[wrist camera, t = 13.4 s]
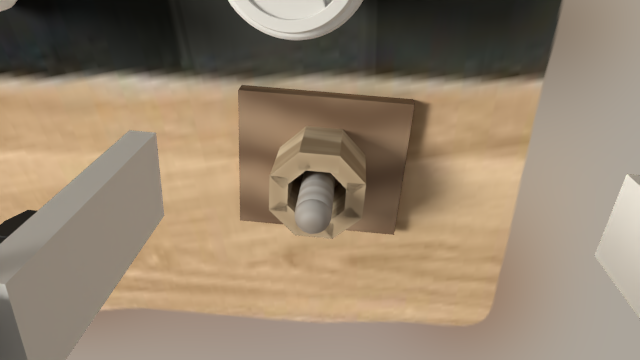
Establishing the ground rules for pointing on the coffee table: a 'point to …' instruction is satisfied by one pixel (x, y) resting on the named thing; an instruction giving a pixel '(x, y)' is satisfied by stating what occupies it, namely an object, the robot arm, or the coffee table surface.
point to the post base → (326, 113)
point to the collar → (322, 156)
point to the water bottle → (6, 4)
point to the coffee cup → (296, 16)
